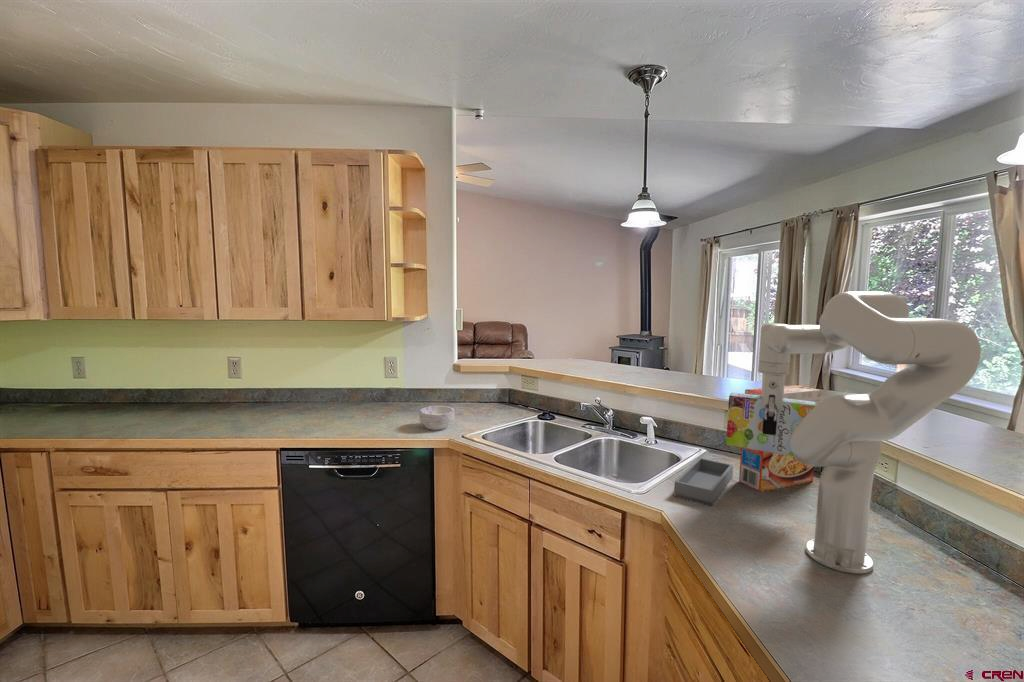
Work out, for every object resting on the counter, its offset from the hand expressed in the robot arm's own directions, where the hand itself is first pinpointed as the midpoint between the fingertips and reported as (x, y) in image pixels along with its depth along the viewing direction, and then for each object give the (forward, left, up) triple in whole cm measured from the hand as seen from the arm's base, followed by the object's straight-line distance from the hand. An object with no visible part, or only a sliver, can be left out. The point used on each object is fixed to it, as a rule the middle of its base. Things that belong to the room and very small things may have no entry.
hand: (768, 430), depth 131 cm
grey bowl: (-6, +128, -22) cm, 130 cm away
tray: (+2, +17, -22) cm, 27 cm away
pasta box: (+21, 0, -22) cm, 30 cm away
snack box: (0, 0, -6) cm, 6 cm away
